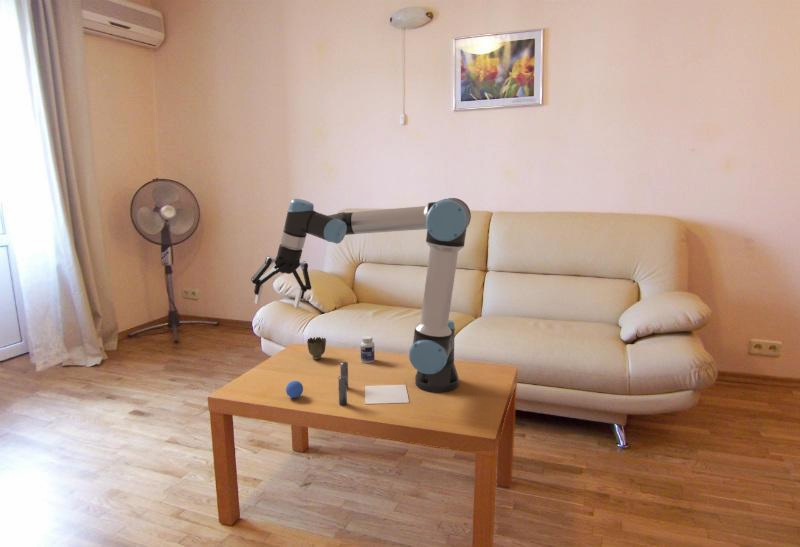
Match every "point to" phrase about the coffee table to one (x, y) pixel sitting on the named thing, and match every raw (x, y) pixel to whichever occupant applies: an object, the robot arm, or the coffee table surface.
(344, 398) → the post
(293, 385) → the ball
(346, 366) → the post
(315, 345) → the cup
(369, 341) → the pill bottle
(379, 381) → the coffee table surface
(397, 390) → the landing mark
